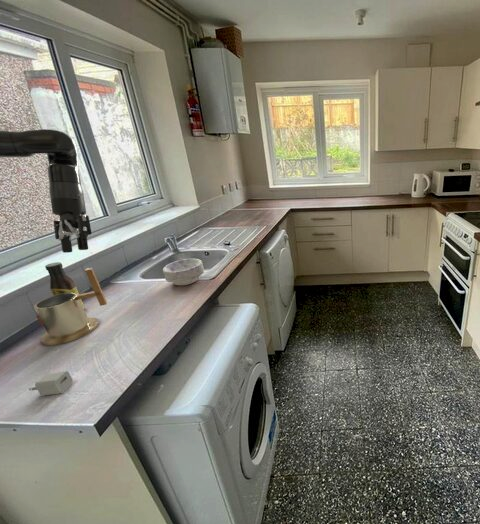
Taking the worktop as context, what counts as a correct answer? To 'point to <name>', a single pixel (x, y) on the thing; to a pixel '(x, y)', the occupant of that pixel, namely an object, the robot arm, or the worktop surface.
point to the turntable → (50, 341)
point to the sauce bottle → (60, 280)
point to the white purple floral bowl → (183, 271)
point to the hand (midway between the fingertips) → (75, 251)
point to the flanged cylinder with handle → (67, 310)
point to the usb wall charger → (53, 383)
